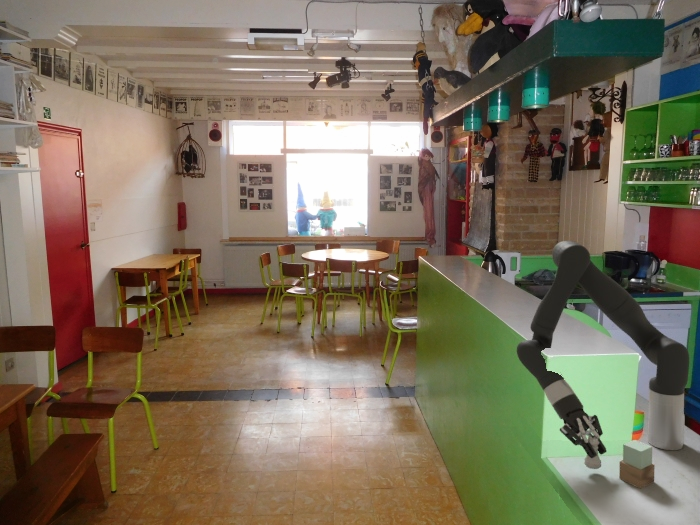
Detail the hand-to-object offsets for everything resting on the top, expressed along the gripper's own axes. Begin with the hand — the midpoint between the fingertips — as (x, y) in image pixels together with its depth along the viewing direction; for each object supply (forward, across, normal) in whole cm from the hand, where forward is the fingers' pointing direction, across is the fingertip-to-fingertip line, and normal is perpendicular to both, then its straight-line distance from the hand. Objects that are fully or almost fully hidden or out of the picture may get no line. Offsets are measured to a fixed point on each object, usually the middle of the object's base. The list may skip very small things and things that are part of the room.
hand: (598, 454), depth 144 cm
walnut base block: (+9, +7, 0) cm, 11 cm away
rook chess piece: (+2, 0, +4) cm, 5 cm away
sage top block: (+6, +7, -4) cm, 10 cm away
